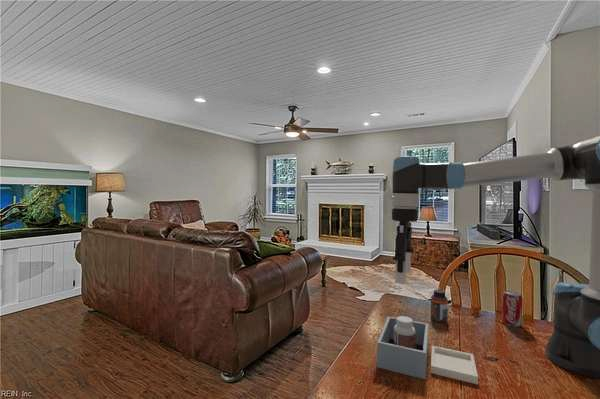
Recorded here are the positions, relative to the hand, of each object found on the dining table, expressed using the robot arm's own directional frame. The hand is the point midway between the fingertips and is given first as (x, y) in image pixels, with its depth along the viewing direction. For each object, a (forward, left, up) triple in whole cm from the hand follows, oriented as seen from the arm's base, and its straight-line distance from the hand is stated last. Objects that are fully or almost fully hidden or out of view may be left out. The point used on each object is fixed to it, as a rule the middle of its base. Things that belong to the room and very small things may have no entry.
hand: (403, 277), depth 89 cm
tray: (-14, +1, -23) cm, 27 cm away
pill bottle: (-1, +1, -23) cm, 24 cm away
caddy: (-1, +1, -23) cm, 23 cm away
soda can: (-35, -40, -23) cm, 59 cm away
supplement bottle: (-10, -32, -23) cm, 41 cm away
